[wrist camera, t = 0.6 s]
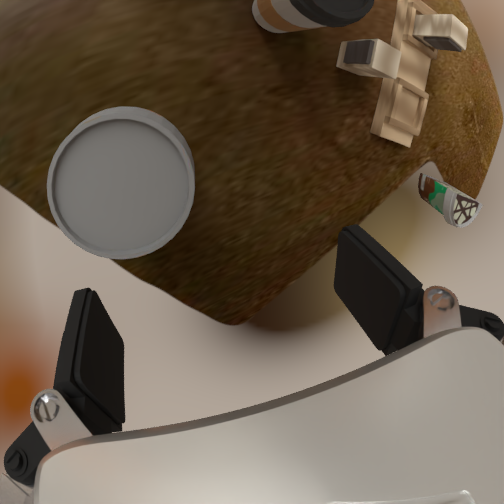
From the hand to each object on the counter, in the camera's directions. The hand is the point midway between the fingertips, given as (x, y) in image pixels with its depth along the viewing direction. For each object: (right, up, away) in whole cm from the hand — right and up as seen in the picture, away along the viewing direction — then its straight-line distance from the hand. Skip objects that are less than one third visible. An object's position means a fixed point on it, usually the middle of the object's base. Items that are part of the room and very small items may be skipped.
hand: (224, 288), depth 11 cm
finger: (+15, +28, +22) cm, 38 cm away
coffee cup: (+4, +31, +16) cm, 35 cm away
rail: (+25, +30, +24) cm, 46 cm away
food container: (+36, +13, +39) cm, 54 cm away
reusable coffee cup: (-13, +14, +22) cm, 29 cm away
